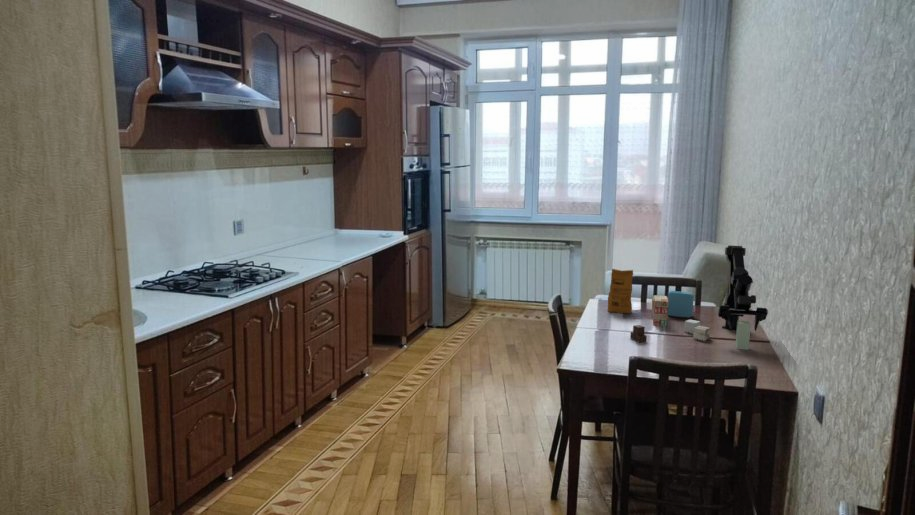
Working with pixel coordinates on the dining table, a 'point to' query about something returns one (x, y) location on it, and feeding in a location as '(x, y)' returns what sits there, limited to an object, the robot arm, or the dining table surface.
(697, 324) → the light grey cube
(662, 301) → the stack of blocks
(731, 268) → the robot arm
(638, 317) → the dining table surface
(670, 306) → the light blue box
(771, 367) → the dining table surface
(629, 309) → the coffee package
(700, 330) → the oatmeal cube
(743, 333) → the sage green block
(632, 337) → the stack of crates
